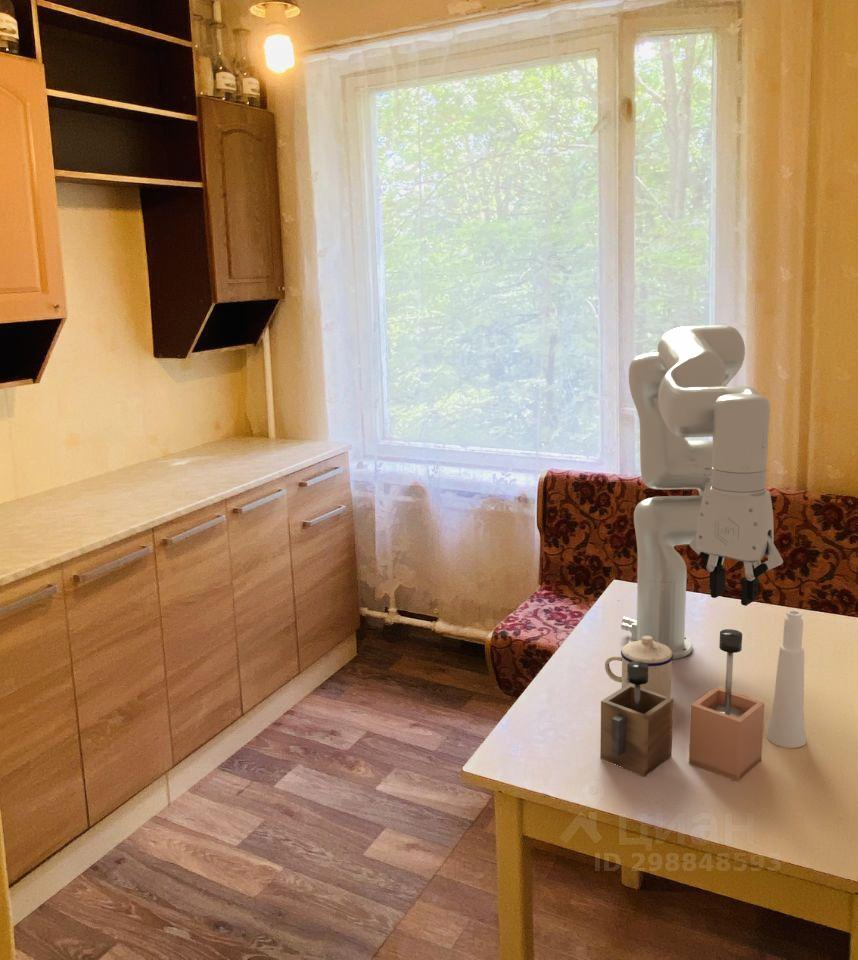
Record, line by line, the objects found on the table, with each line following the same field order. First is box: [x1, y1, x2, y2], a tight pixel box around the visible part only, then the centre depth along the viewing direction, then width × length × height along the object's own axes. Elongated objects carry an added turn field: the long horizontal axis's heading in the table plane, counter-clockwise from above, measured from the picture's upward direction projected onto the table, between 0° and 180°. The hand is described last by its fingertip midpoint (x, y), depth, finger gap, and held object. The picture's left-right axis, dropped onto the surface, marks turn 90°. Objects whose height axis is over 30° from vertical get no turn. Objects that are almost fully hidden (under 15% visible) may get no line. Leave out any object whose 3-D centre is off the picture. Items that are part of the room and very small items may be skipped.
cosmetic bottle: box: [765, 609, 807, 749], centre depth 141 cm, size 6×6×22 cm
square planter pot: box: [688, 686, 766, 783], centre depth 137 cm, size 8×10×10 cm
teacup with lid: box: [604, 636, 674, 698], centre depth 158 cm, size 12×9×12 cm
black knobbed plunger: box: [709, 628, 745, 718], centre depth 134 cm, size 6×6×14 cm
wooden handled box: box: [599, 684, 674, 778], centre depth 138 cm, size 8×10×10 cm
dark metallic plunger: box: [627, 661, 649, 712], centre depth 138 cm, size 6×6×14 cm
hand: (732, 597), depth 131 cm, fingers open, 4 cm apart
